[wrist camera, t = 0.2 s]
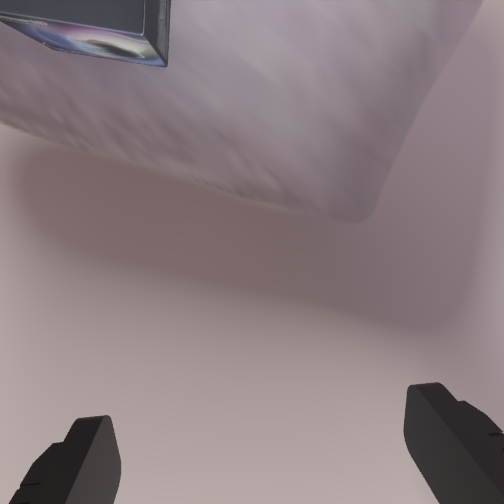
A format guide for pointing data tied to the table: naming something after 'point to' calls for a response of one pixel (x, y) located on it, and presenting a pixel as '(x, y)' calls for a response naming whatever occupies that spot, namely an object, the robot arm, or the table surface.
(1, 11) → the small box
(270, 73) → the table surface
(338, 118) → the table surface
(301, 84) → the table surface
